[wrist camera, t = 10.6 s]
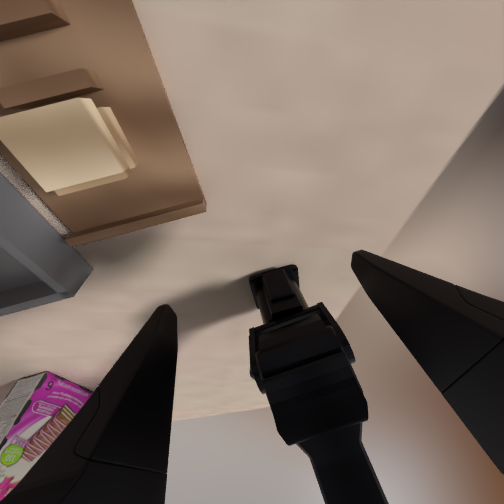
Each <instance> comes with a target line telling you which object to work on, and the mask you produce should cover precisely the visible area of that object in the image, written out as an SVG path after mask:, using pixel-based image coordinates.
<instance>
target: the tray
mask: <svg viewBox="0 0 504 504" xmlns="http://www.w3.org/2000/svg"><path fill="white" fill-rule="evenodd" d="M92 270H93V268H92V267H91V266H90V265H89V264H88V263H87V262H86V261H85V260H84V259H83V258H82V257H81V256H80V255H79V254H78V253H77V252H76V251H75V250H74V248H73V247H71V246H70V245H69V244H68V243H67V242H66V241H65V239H64V238H63V237H62V236H61V235H60V234H59V233H58V232H57V231H56V230H55V229H54V228H53V227H52V226H51V225H50V223H49V222H48V221H47V220H46V219H45V218H44V217H43V216H42V215H41V214H40V213H39V212H38V211H37V210H36V209H35V208H34V207H33V206H32V205H31V204H30V203H29V202H28V201H27V199H26V198H25V197H24V196H23V195H22V194H21V193H20V192H19V191H18V190H17V189H16V188H15V187H14V186H13V185H12V184H11V183H10V182H9V181H8V180H7V179H6V178H5V177H4V175H3V174H2V173H1V172H0V316H4V315H7V314H11V313H15V312H18V311H22V310H26V309H29V308H33V307H37V306H40V305H44V304H48V303H52V302H55V301H59V300H63V299H66V298H70V297H74V295H75V294H76V293H77V291H78V290H79V288H80V287H81V286H82V284H83V283H84V282H85V280H86V279H87V277H88V276H89V275H90V273H91V272H92Z"/></svg>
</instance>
